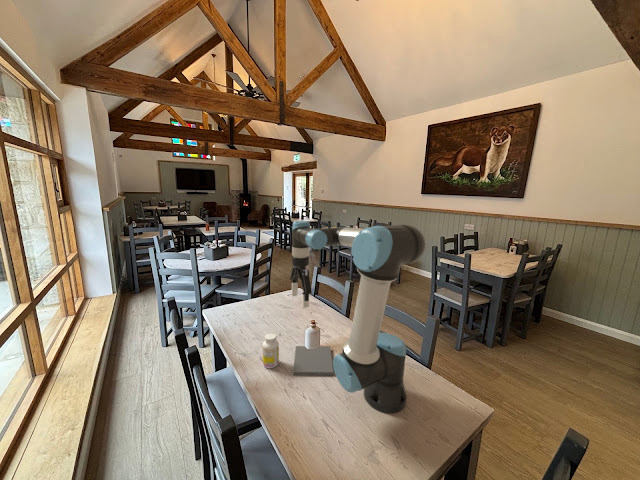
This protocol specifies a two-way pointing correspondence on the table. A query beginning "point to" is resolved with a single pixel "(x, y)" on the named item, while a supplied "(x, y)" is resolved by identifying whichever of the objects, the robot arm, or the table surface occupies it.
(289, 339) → the table surface
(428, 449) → the table surface
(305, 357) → the slate board
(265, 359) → the supplement bottle
